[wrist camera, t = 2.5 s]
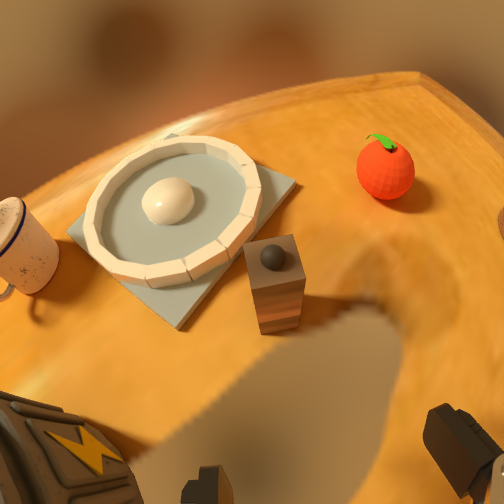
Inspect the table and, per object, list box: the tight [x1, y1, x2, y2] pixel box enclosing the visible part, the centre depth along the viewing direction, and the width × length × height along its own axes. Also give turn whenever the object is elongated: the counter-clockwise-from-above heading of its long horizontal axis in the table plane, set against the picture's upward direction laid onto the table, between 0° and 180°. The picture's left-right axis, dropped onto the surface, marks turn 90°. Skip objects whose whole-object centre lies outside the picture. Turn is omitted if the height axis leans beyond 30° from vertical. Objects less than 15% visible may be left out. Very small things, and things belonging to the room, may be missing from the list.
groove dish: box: [66, 133, 296, 331], centre depth 34 cm, size 21×21×3 cm
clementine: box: [357, 134, 415, 200], centre depth 32 cm, size 8×7×7 cm
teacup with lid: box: [0, 197, 59, 302], centre depth 27 cm, size 12×9×12 cm
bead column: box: [243, 234, 306, 335], centre depth 23 cm, size 3×3×11 cm
